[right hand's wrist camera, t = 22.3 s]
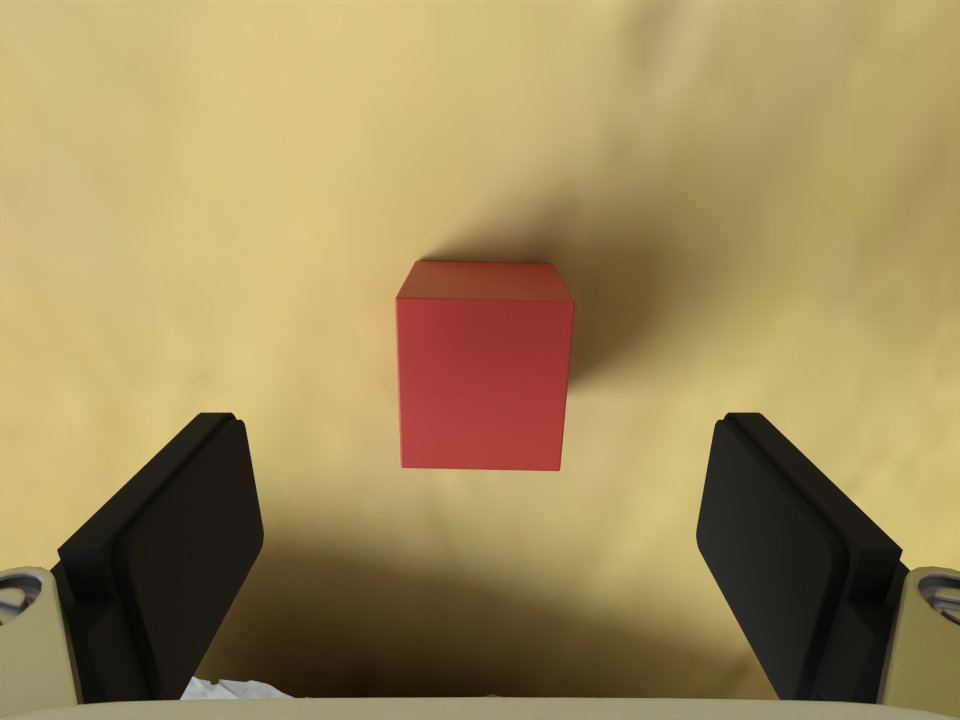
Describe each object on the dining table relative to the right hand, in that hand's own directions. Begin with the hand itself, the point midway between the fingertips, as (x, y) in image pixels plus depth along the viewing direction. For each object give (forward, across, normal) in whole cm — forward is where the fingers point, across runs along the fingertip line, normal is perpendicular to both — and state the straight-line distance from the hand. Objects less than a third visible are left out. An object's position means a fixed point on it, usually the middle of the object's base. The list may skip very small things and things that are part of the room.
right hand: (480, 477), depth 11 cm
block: (+9, 0, 0) cm, 9 cm away
